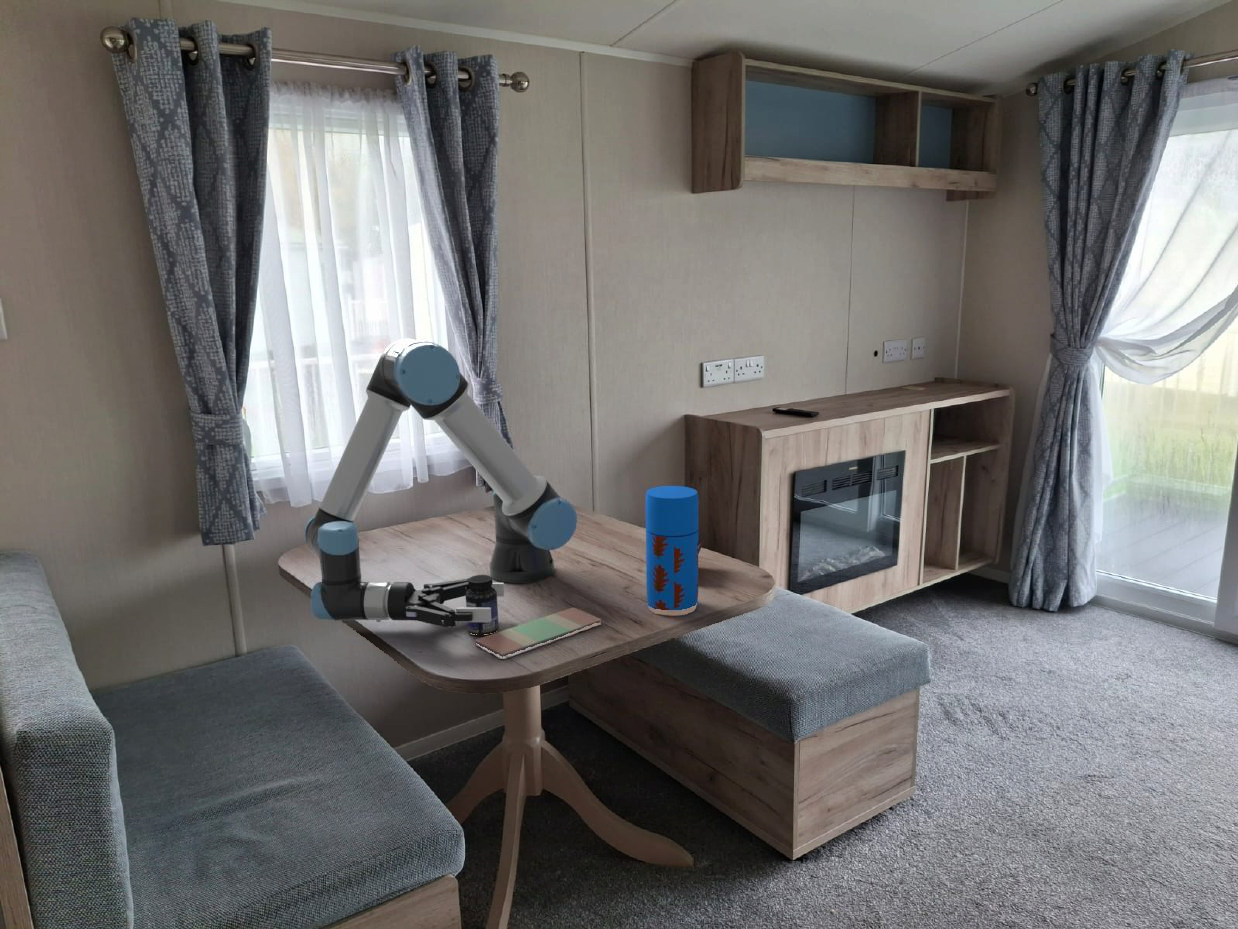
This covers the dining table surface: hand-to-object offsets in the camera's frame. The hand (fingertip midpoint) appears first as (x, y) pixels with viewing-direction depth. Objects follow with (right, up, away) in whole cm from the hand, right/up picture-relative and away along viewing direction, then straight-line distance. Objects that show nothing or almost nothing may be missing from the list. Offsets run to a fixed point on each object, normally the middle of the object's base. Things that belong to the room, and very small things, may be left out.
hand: (497, 601), depth 177 cm
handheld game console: (+38, +1, +32) cm, 50 cm away
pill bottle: (-3, -6, +2) cm, 7 cm away
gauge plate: (+8, -6, -1) cm, 11 cm away
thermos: (+35, -3, +12) cm, 37 cm away
